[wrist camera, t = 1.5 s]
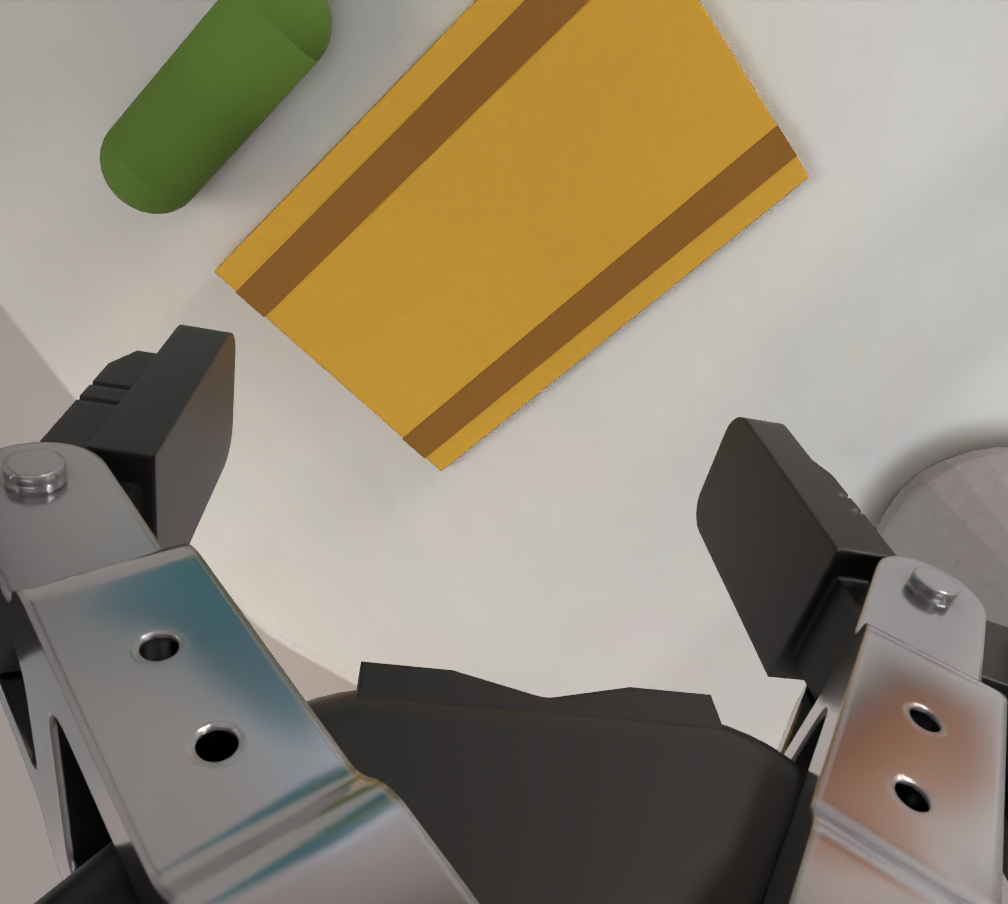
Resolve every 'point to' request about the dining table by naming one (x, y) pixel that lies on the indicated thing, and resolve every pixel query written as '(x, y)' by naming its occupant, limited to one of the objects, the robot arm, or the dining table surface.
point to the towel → (514, 207)
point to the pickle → (211, 98)
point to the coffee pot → (958, 523)
